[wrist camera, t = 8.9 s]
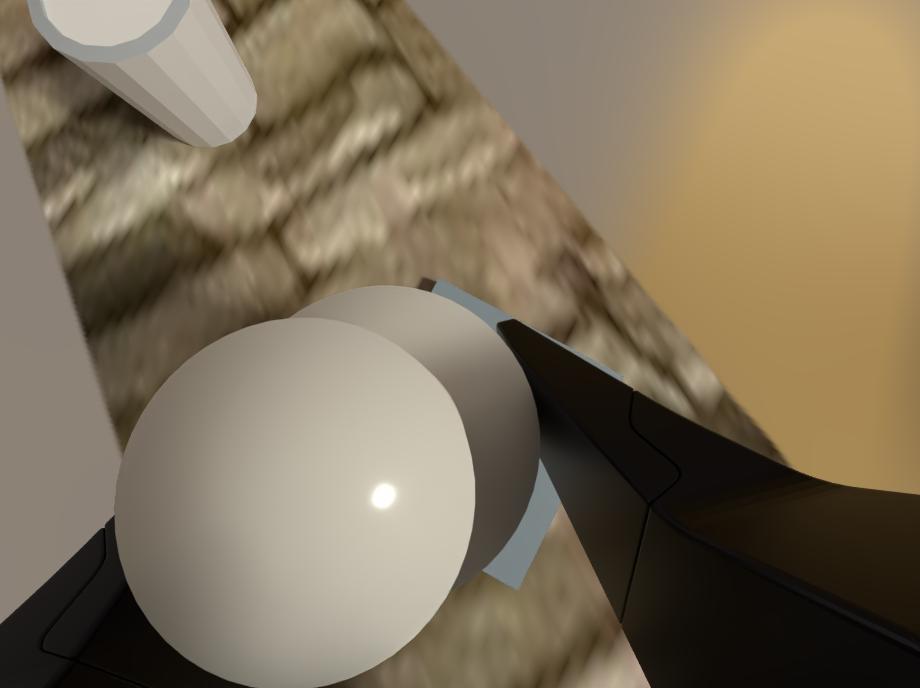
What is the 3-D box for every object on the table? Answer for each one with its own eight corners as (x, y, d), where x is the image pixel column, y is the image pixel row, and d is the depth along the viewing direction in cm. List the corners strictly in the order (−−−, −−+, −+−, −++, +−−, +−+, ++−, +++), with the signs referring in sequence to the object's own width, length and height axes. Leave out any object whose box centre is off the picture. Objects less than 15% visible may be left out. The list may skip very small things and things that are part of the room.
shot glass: (124, 113, 24) (-13, -2, 17) (202, 27, 24) (101, -118, 17) (215, 180, 23) (113, 92, 16) (292, 92, 24) (225, -30, 17)
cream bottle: (455, 505, 15) (455, 1046, 3) (334, 444, 15) (-205, 672, 3) (512, 382, 16) (739, 336, 3) (395, 325, 16) (175, 72, 3)
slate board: (514, 581, 21) (517, 590, 20) (330, 477, 22) (324, 481, 21) (616, 376, 22) (623, 376, 21) (439, 282, 23) (439, 278, 22)
